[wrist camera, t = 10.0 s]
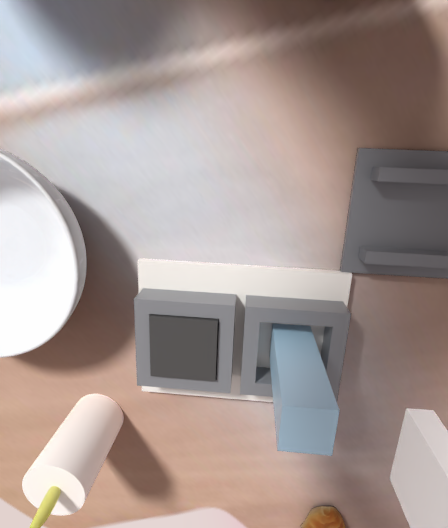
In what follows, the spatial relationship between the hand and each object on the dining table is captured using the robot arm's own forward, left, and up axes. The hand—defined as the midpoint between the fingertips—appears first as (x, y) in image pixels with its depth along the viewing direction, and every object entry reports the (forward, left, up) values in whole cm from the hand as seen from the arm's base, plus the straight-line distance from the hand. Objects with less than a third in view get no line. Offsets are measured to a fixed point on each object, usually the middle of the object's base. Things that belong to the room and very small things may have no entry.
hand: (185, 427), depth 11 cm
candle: (+24, -16, -26) cm, 39 cm away
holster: (-3, +17, -26) cm, 32 cm away
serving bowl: (+2, -24, -27) cm, 36 cm away
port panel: (+11, +1, -26) cm, 28 cm away
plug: (+11, +7, -25) cm, 28 cm away
